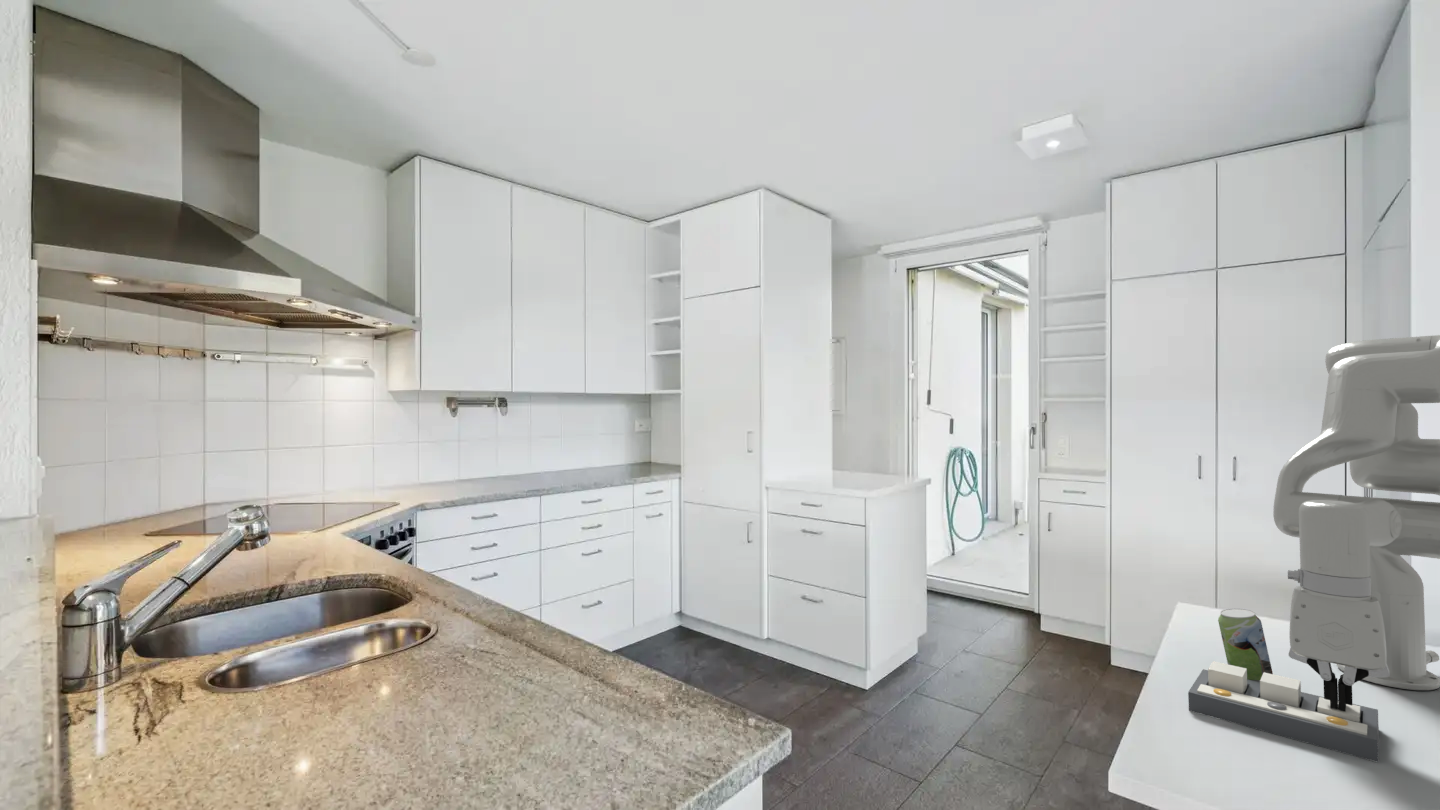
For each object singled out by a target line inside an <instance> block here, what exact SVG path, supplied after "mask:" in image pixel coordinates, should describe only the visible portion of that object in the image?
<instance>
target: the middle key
mask: <svg viewBox="0 0 1440 810" xmlns="http://www.w3.org/2000/svg"><path fill="white" fill-rule="evenodd" d="M1301 683H1302V682H1301V679H1296V678H1291V677H1287V676H1282V675H1277V674H1274V673H1273V674H1269V673H1265V672H1263V675H1262V677H1261V680H1260V698H1262V699H1266V700H1270V701H1274V702H1278V703H1282V704H1286V705H1291V706H1295V707H1299V706H1300V702H1301V692H1302V688H1301V687H1302V686H1301V685H1302V684H1301Z"/></svg>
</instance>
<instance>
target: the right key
mask: <svg viewBox="0 0 1440 810" xmlns="http://www.w3.org/2000/svg"><path fill="white" fill-rule="evenodd" d="M1322 697H1323V696H1321V697H1319V701H1318V706H1317V710H1318V712H1319V713H1323V714H1327V715H1331V716H1335V717H1339V718H1344V719H1348V720H1352V721H1356V722H1360V723H1361V715H1360V706H1361V705H1360V706H1357V705H1358V704H1356V705H1348V704H1346V711H1341V710H1340V709H1339V706H1337V709H1336V708H1335V709H1332V708H1330V700H1326V699H1324V698H1322Z"/></svg>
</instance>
